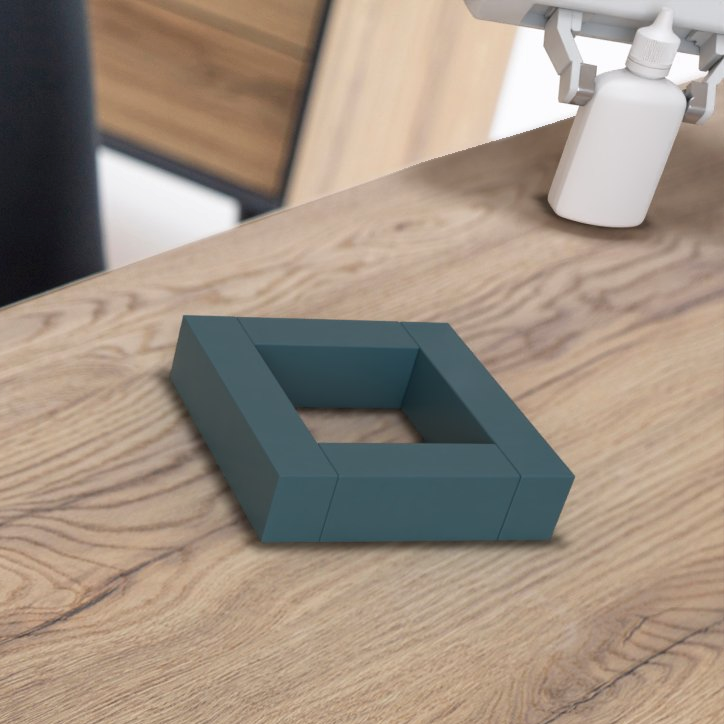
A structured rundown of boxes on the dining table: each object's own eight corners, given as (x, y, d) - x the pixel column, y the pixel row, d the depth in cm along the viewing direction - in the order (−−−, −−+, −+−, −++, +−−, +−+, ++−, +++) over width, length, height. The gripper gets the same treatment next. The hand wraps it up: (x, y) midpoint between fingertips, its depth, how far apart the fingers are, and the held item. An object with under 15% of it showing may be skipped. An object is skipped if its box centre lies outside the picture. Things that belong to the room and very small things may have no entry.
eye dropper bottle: (555, 189, 104) (626, -14, 97) (646, 218, 103) (725, 14, 95) (538, 211, 101) (610, 3, 94) (632, 242, 100) (712, 33, 92)
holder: (423, 397, 82) (448, 321, 80) (544, 557, 73) (576, 476, 70) (165, 394, 79) (182, 314, 76) (256, 560, 69) (279, 475, 67)
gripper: (799, -60, 103) (782, 161, 101) (465, -117, 102) (443, 106, 100) (858, -120, 97) (841, 114, 95) (503, -182, 95) (479, 55, 94)
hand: (634, 110), depth 98 cm, fingers closed on eye dropper bottle, 5 cm apart
